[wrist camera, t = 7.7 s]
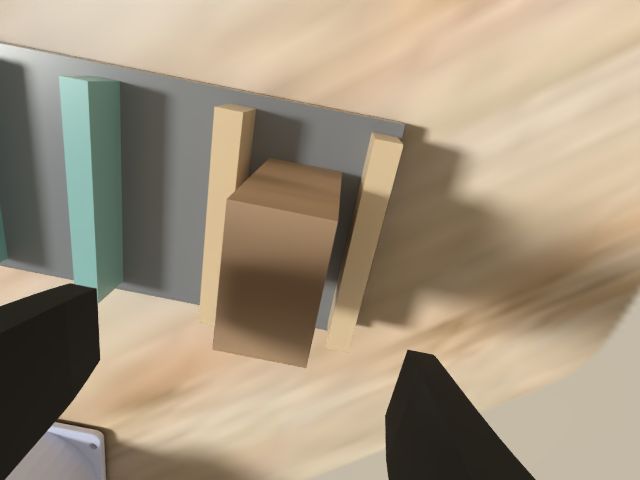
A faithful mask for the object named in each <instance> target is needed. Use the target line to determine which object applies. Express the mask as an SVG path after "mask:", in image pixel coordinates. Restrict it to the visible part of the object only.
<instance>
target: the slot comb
mask: <svg viewBox="0 0 640 480" xmlns="http://www.w3.org/2000/svg"><path fill="white" fill-rule="evenodd" d="M404 128H405V124H404V123H402V122H398V121H393V120H388V119H383V118H378V117H373V116H368V115H363V114H358V113H353V112H348V111H343V110H338V109H333V108H328V107H323V106H318V105H313V104H309V103H304V102H299V101H294V100H289V99H284V98H279V97H274V96H269V95H264V94H259V93H254V92H249V91H244V90H239V89H234V88H229V87H224V86H219V85H214V84H209V83H204V82H199V81H194V80H189V79H184V78H179V77H174V76H169V75H164V74H159V73H154V72H149V71H144V70H139V69H134V68H129V67H124V66H119V65H114V64H110V63H105V62H100V61H95V60H90V59H85V58H80V57H75V56H70V55H65V54H60V53H55V52H50V51H45V50H40V49H35V48H30V47H25V46H20V45H15V44H10V43H5V42H0V266H5V267H10V268H15V269H20V270H25V271H30V272H35V273H40V274H45V275H50V276H55V277H60V278H65V279H70V280H74V284H76V285H81V286H86V287H91V288H96V289H97V303H99V302H100V301H101V300H102V299H104V298H105V297H106V296H107V295H108V294H109V293H110V292H111V291H113V290H114V289H115V288H116V289H121V290H126V291H131V292H136V293H141V294H146V295H151V296H156V297H162V298H167V299H172V300H177V301H182V302H187V303H192V304H197V305H200V309H199V323H201V324H206V325H211V326H215V318H216V307H217V296H218V286H219V275H220V264H221V254H222V243H223V232H224V222H225V211H226V200H227V198H228V197H229V196H230V195H231V194H232V193H233V192H235V191H236V190H237V189H238V188H239V187H240V186H241V185H242V184H243V183H244V182H245V181H246V180H247V179H248V178H249V177H250V176H251V175H252V174H253V173H254V172H255V171H256V170H257V169H259V168H260V167H261V166H262V165H263V164H264V163H265V162H266V161H267V160H268V159H269V158H274V159H279V160H284V161H289V162H294V163H299V164H304V165H309V166H314V167H319V168H324V169H329V170H334V171H339V172H342V179H341V191H340V204H339V216H338V224H337V229H336V233H335V238H334V242H333V247H332V252H331V256H330V261H329V265H328V270H327V275H326V279H325V284H324V289H323V293H322V298H321V302H320V307H319V312H318V316H317V321H316V325H315V328H318V329H323V330H327V339H326V348H328V349H333V350H338V351H343V352H349V348H350V344H351V341H352V337H353V333H354V329H355V326H356V322H357V318H358V314H359V311H360V307H361V303H362V299H363V296H364V292H365V288H366V284H367V281H368V277H369V273H370V269H371V265H372V262H373V258H374V254H375V250H376V247H377V243H378V239H379V235H380V232H381V228H382V224H383V220H384V217H385V213H386V209H387V205H388V202H389V198H390V194H391V190H392V187H393V183H394V179H395V175H396V171H397V168H398V164H399V160H400V156H401V153H402V149H403V145H404V144H403V143H402V142H401V140H402V136H403V132H404Z"/></svg>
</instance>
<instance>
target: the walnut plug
mask: <svg viewBox="0 0 640 480" xmlns="http://www.w3.org/2000/svg"><path fill="white" fill-rule="evenodd" d="M341 179H342V172H339V171H334V170H329V169H324V168H319V167H314V166H309V165H304V164H299V163H294V162H289V161H284V160H279V159H274V158H269V159H268V160H267V161H266V162H265V163H264V164H263V165H262V166H261V167H260V168H259V169H257V170H256V171H255V172H254V173H253V174H252V175H251V176H250V177H249V178H248V179H247V180H246V181H245V182H244V183H243V184H242V185H241V186H240V187H239V188H238V189H237V190H236V191H235V192H233V193H232V194H231V195H230V196H229V197H228V198H227V200H226V211H225V222H224V232H223V243H222V254H221V264H220V275H219V286H218V296H217V307H216V318H215V329H214V339H213V350H217V351H222V352H227V353H232V354H237V355H242V356H247V357H253V358H258V359H263V360H268V361H273V362H278V363H283V364H288V365H293V366H298V367H303V368H306V367H307V362H308V358H309V353H310V348H311V344H312V339H313V335H314V330H315V325H316V321H317V316H318V312H319V307H320V302H321V298H322V293H323V289H324V284H325V279H326V275H327V270H328V265H329V261H330V256H331V252H332V247H333V242H334V238H335V233H336V229H337V224H338V216H339V204H340V191H341Z"/></svg>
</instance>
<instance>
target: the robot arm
mask: <svg viewBox="0 0 640 480" xmlns="http://www.w3.org/2000/svg"><path fill="white" fill-rule="evenodd" d="M99 361H100V346H99V325H98V303H97V289H96V288H91V287H86V286H81V285H76V284H71V283H70V284H66V285H63V286H59V287H56V288H52V289H49V290H46V291H43V292H40V293H37V294H34V295H31V296H28V297H25V298H23V299H20V300H17V301H14V302H11V303H8V304H6V305H3V306H0V480H106V467H105V446H104V436H103V434H102V433H101V432H100V431H98V430H94V429H88V428H83V427H78V426H73V425H68V424H63V423H58V422H55V421H56V420H57V419H58V418H59V417H60V415H61V414H62V413H63V412H64V411H65V409H66V408H67V407H68V406H69V405H70V403H71V402H72V401H73V400H74V398H75V397H76V395H77V394H78V393H79V391H80V390H81V388H82V387H83V385H84V384H85V382H86V381H87V379H88V378H89V376H90V375H91V373H92V372H93V370H94V369H95V367H96V365H97V364H98V362H99ZM385 426H386V462H387V470H388V478H389V480H535V479H534V477H533V476H532V475H531V474H530V473H529V472H528V471H527V470H526V468H525V467H524V466H523V465H522V464H521V463H520V462H519V460H518V459H517V458H516V457H515V456H514V455H513V453H512V452H511V451H510V450H509V449H508V448H507V446H506V445H505V444H504V443H503V442H502V440H501V439H500V438H499V437H498V436H497V434H496V433H495V432H494V431H493V430H492V428H491V427H490V426H489V425H488V423H487V422H486V421H485V420H484V418H483V417H482V416H481V415H480V413H479V412H478V411H477V409H476V408H475V407H474V406H473V404H472V403H471V402H470V401H469V399H468V398H467V397H466V395H465V394H464V393H463V391H462V390H461V389H460V388H459V386H458V385H457V384H456V382H455V381H454V380H453V378H452V377H451V376H450V375H449V373H448V372H447V371H446V369H445V368H444V367H443V365H442V364H441V363H440V362H439V360H438V359H437V358H436V357H435V356H434V355H432V354H427V353H422V352H417V351H412V350H407V353H406V356H405V359H404V362H403V365H402V368H401V371H400V374H399V377H398V380H397V383H396V386H395V389H394V392H393V395H392V397H391V400H390V403H389V406H388V409H387V412H386V415H385Z"/></svg>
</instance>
